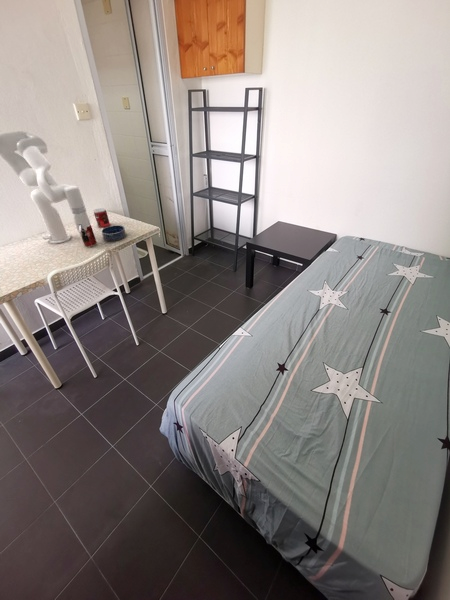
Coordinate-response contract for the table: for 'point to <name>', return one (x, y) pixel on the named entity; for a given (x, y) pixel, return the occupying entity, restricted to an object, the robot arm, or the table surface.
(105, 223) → the canned food
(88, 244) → the soda can
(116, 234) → the dark blue bowl
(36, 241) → the table surface
